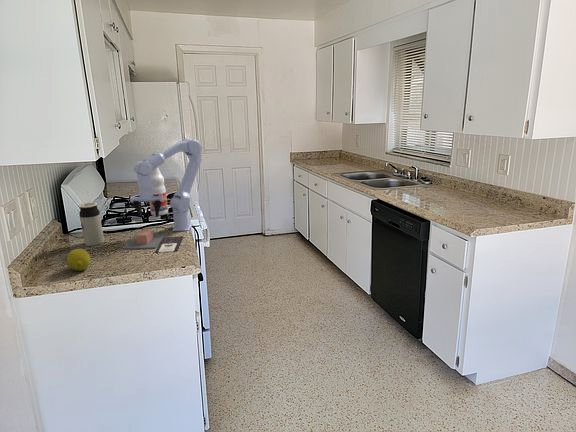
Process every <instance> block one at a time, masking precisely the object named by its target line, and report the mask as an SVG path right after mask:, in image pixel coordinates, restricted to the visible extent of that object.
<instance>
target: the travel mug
mask: <svg viewBox="0 0 576 432" xmlns="http://www.w3.org/2000/svg"><path fill="white" fill-rule="evenodd" d="M78 208H79V211H78V214H79V219H80V220H79V221H80V225H81V230H82V235H83V242H84V245H86V246H88V247H89V246H90V247H93V246H94V247H95V246H98V245H101V244H103V243H104V242H105V237H104V230H103V225H102V220H101V213H100V210H99V208H98V203H97V202H84V203H80V204H79V205H78Z"/></svg>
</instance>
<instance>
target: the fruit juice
mask: <svg viewBox="0 0 576 432" xmlns="http://www.w3.org/2000/svg"><path fill="white" fill-rule="evenodd" d="M159 167H160V166H158V167H157V168H155V169H153V170H152V171H151V173H150V177H151V184H152V192H153V196H160V197H163V201H162V203H161V206H160V209H159V216H164V215H167V214H168V213H169V207H168V200H167V190H166V185H165V177H164V176H163V174H162V173H161V171H160V168H159ZM154 202H155V201H151V202H148V203H149V210H150V214H151V215H152V216H156V215H155V208H154V204H153V203H154Z"/></svg>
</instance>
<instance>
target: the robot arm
mask: <svg viewBox="0 0 576 432" xmlns="http://www.w3.org/2000/svg"><path fill="white" fill-rule="evenodd" d="M202 148H203V147H202V145H201V143H200V142H199V140H198V139H189V138H183V139H182V140H179V141H177V142H176V143H175V144H173V145H171V146H170V147H168V148H167V149H165V150H163V151H162V152H152V153H151V155H149V156H148V157H144V158H142V160H139V161H137V162H136V163H135V164H134V167H133V170H134V172H135V173H136V178H137V179H136V180H137V185H138V193H139V196H134V197H133V196H132V197H130V198H129V201H130V203H132V207H133V208H134V209H135V211H136V213H137V215H138V218H139V219H140V218H142V217H143V211H142V202H144V203H146V202H148V203H149V202H151V201H155V202H154V203H153V204H154V208H155V215H154V216H155V218H158V217H159V216H160V215H159V209H160V206H161V203H162V201H163V197H160V196H153V192H152V184H151V177H150V173H151V171H152V170H153V169H155V168H157V167H158V166H159V167H160V166H162V165H163V164H165V161H166V159H168V158H170V157H173V156H174V155H177V154H178V153H184V154H186V156H187V158H188V163H187V166H186V168H185V171H184V174H183V176H182V179H181V182H180V186H179V187H178V190H177V191H176V192H175V193H174V195H173V196H172V197H171V199H170V200H169V205H170V207H171V208H172V214H173V215H172V216H173V224H174V228H172V232H182V231H187V232H188V231H190V229H191V228H192V226H193V225H194V224H193V223H191V216H190V215H191V214H190V213H191V212H190V211H189V209H190V207H191V204H190V203H191V196H190V193H191V190H192V187H193V185H194V181H195V180H196V176H197V174H198V170H199V168H200V166H201V163H202V161H203V160H202V158H203V157H202ZM159 167H158V168H159Z"/></svg>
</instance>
